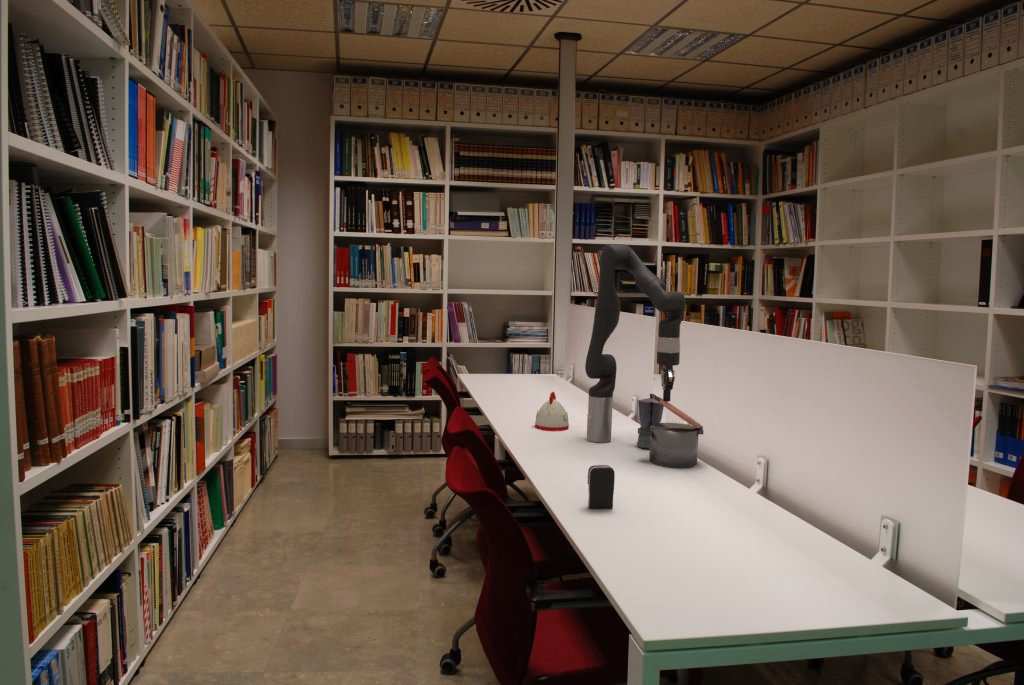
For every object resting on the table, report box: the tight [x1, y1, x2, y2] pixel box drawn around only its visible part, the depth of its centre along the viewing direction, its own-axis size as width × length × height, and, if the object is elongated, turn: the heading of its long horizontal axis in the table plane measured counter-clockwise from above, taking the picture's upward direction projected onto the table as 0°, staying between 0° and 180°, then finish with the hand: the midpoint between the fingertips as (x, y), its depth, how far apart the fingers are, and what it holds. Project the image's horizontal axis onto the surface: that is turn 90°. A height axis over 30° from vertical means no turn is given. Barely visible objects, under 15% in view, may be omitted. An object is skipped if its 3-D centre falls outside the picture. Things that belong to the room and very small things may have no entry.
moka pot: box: [636, 393, 665, 450], centre depth 259 cm, size 10×15×20 cm, turn 174°
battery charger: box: [587, 464, 616, 509], centre depth 190 cm, size 7×4×11 cm, turn 98°
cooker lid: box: [651, 393, 704, 430], centre depth 238 cm, size 20×17×1 cm
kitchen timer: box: [534, 391, 570, 432], centre depth 289 cm, size 14×14×15 cm
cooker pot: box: [637, 422, 704, 469], centre depth 239 cm, size 21×16×12 cm
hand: (666, 401), depth 238 cm, fingers closed
